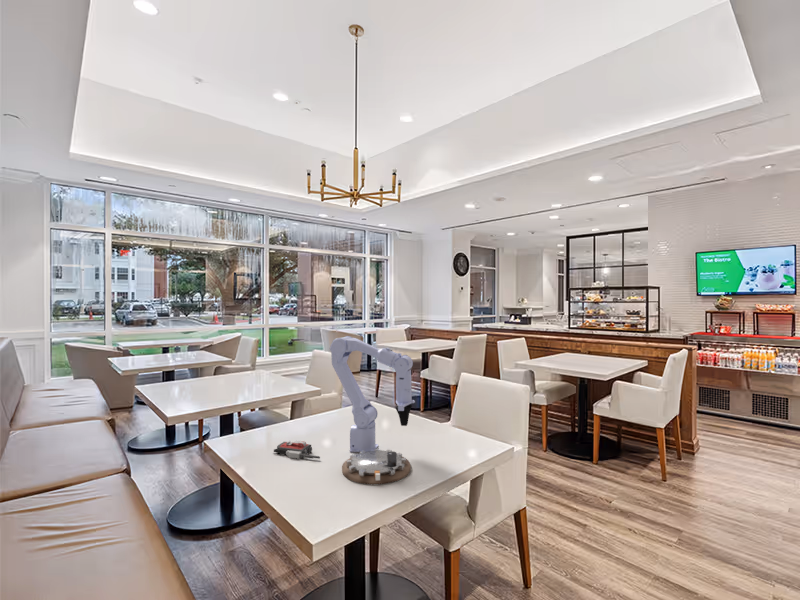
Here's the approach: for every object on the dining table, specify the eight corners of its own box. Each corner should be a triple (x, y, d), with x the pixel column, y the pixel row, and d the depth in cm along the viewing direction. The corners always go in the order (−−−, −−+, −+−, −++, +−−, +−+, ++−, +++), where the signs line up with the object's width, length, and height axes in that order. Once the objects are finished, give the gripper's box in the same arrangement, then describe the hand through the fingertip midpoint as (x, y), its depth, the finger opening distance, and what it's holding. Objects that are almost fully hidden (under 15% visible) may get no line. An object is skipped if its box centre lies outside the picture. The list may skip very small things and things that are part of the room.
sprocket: (341, 457, 141) (341, 441, 141) (394, 450, 148) (394, 435, 148) (354, 481, 122) (354, 463, 122) (414, 471, 129) (414, 454, 129)
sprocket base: (332, 481, 126) (332, 472, 126) (353, 453, 148) (353, 445, 148) (404, 487, 122) (404, 477, 122) (414, 457, 144) (414, 449, 144)
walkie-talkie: (269, 456, 147) (318, 462, 141) (269, 444, 147) (318, 450, 141) (283, 448, 155) (329, 453, 149) (283, 436, 155) (329, 441, 149)
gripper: (411, 393, 141) (412, 432, 141) (416, 384, 155) (417, 419, 155) (392, 392, 142) (392, 431, 142) (399, 384, 156) (399, 419, 156)
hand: (404, 425), depth 149 cm, fingers closed
